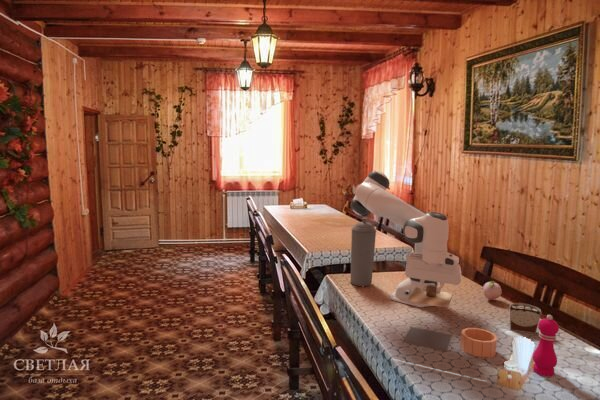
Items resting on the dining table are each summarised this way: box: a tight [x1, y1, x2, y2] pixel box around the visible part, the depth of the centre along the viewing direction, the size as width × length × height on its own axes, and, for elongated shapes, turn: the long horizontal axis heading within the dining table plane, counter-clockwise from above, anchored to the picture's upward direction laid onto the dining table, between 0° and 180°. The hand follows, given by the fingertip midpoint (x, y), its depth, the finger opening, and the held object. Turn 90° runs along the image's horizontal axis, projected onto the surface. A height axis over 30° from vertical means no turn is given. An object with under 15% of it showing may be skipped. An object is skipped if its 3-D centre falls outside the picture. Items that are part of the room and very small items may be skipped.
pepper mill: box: [532, 314, 560, 377], centre depth 152 cm, size 7×7×20 cm
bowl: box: [459, 327, 498, 359], centre depth 167 cm, size 12×12×6 cm
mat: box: [402, 326, 453, 353], centre depth 175 cm, size 16×16×1 cm
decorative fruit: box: [482, 280, 503, 301], centre depth 220 cm, size 9×8×10 cm
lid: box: [408, 285, 454, 309], centre depth 172 cm, size 14×14×5 cm
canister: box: [350, 217, 377, 287], centre depth 237 cm, size 13×13×35 cm
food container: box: [507, 302, 543, 335], centre depth 187 cm, size 12×6×10 cm, turn 71°
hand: (431, 291), depth 172 cm, fingers closed on lid, 4 cm apart
